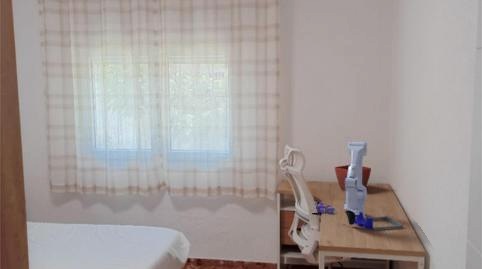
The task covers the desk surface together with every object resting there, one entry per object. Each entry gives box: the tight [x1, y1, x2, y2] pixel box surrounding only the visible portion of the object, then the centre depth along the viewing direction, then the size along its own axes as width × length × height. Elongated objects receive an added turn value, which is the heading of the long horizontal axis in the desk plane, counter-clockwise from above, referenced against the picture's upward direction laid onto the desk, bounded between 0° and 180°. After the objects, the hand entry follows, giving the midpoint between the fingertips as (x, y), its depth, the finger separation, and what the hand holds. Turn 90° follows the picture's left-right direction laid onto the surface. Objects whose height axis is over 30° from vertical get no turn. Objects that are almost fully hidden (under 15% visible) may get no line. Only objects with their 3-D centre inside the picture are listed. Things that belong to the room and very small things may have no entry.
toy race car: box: [313, 200, 337, 215], centre depth 247 cm, size 10×15×6 cm, turn 83°
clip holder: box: [364, 215, 404, 231], centre depth 222 cm, size 17×16×2 cm
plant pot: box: [334, 164, 372, 191], centre depth 302 cm, size 19×19×17 cm
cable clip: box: [354, 212, 374, 230], centre depth 220 cm, size 12×4×6 cm, turn 13°
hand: (351, 224), depth 219 cm, fingers closed
